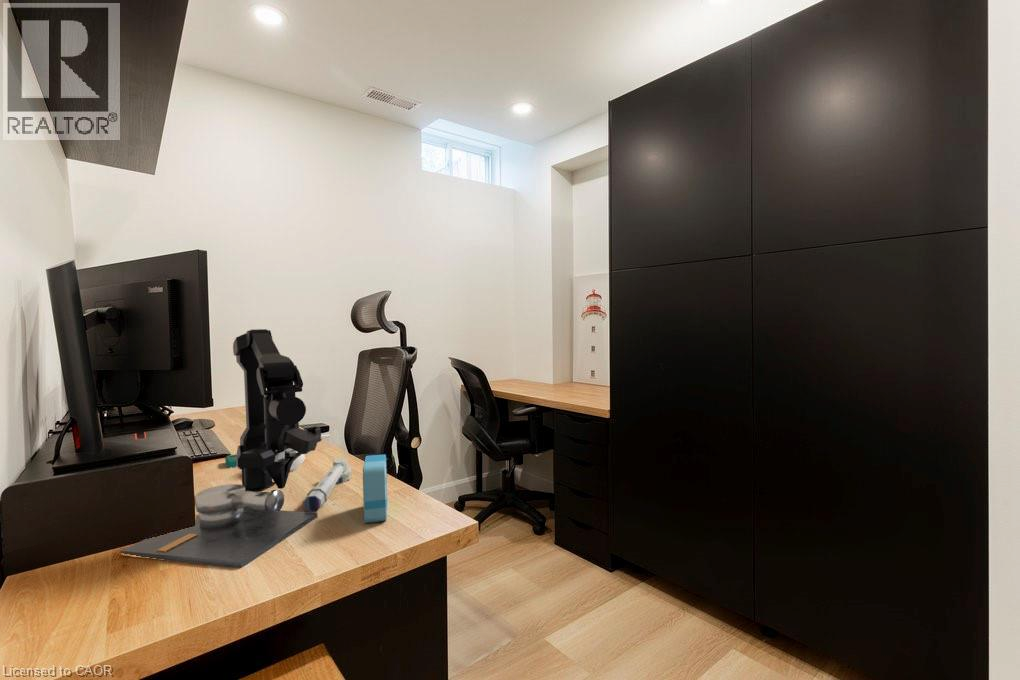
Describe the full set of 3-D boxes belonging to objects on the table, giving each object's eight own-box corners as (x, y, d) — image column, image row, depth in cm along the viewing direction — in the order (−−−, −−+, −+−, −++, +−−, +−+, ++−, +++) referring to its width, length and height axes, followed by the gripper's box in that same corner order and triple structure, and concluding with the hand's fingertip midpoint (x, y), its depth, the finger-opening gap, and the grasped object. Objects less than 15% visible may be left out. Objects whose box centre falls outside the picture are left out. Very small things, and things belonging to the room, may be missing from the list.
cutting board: (120, 556, 87) (119, 534, 87) (217, 510, 109) (216, 493, 109) (241, 567, 82) (240, 545, 82) (317, 517, 103) (316, 499, 103)
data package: (386, 523, 100) (384, 467, 99) (364, 525, 99) (362, 469, 98) (387, 502, 111) (386, 452, 111) (367, 505, 110) (366, 454, 110)
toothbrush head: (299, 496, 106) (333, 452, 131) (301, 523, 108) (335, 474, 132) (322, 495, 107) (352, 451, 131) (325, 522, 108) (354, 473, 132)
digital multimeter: (280, 461, 151) (280, 451, 151) (226, 469, 142) (226, 460, 142) (276, 456, 157) (276, 447, 157) (224, 464, 148) (224, 455, 148)
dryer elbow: (185, 516, 97) (184, 493, 97) (220, 500, 106) (219, 479, 105) (261, 521, 93) (260, 498, 93) (291, 504, 102) (290, 483, 102)
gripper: (282, 428, 93) (285, 506, 93) (336, 411, 111) (338, 476, 111) (234, 426, 95) (236, 503, 96) (294, 410, 113) (296, 474, 114)
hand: (281, 488), depth 104 cm, fingers closed
